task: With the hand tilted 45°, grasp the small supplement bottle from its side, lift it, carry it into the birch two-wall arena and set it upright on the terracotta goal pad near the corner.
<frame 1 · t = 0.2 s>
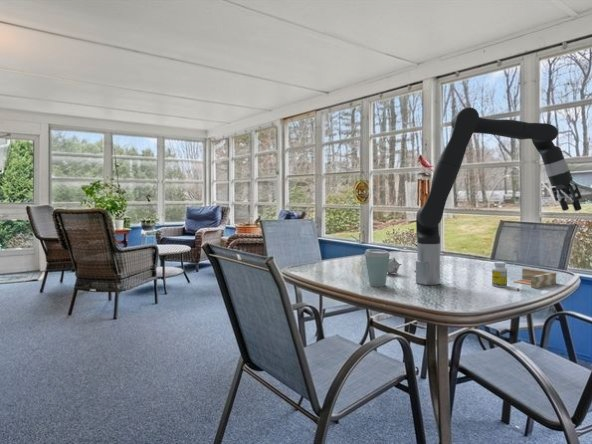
hand: (572, 210, 156), 31 cm above the table, tool tilted 20°, fingers open, 8 cm apart
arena: (528, 282, 164), on the table
supplement bottle: (499, 286, 158), on the table
disposable coffee cup: (377, 285, 162), on the table
grey angular lump: (391, 274, 187), on the table
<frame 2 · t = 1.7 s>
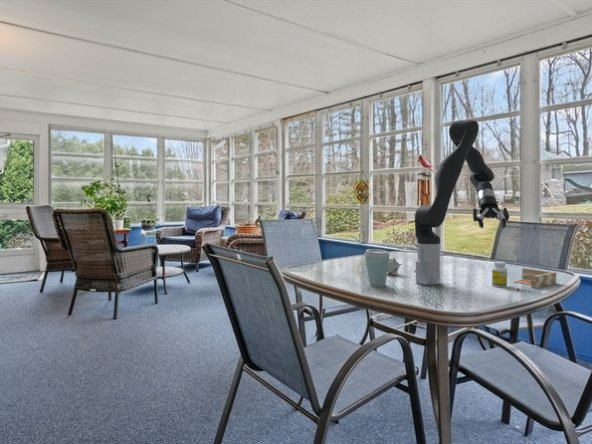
hand: (493, 227, 168), 23 cm above the table, tool tilted 45°, fingers open, 8 cm apart
nothing on the table moved.
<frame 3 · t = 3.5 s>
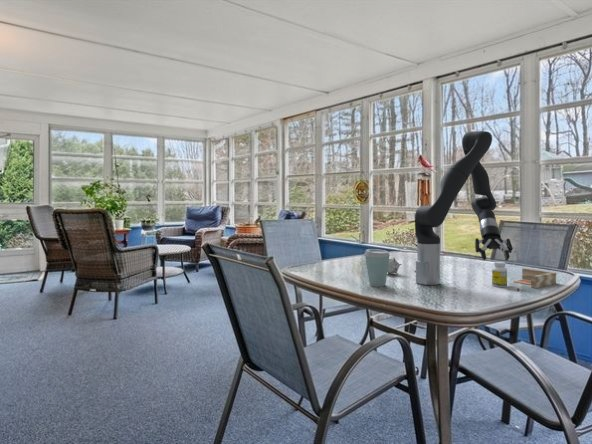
hand: (496, 259, 163), 10 cm above the table, tool tilted 45°, fingers open, 8 cm apart
nothing on the table moved.
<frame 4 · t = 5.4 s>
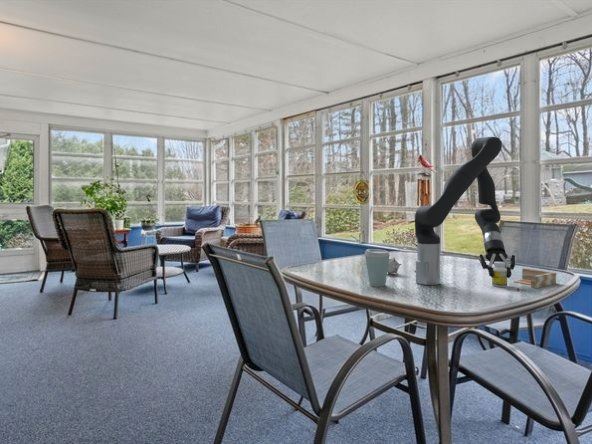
hand: (500, 276, 156), 4 cm above the table, tool tilted 45°, fingers closed on supplement bottle, 5 cm apart
supplement bottle: (499, 286, 158), on the table, touching gripper
everything else where it was.
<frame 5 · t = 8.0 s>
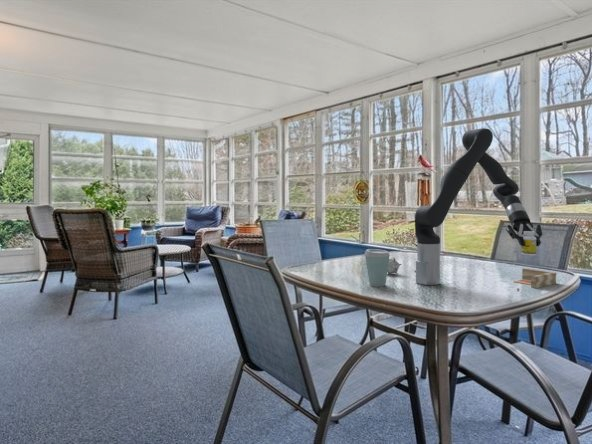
hand: (531, 245, 161), 16 cm above the table, tool tilted 45°, fingers closed on supplement bottle, 5 cm apart
supplement bottle: (528, 255, 163), point 12 cm above the table, touching gripper
everything else where it was.
when the fingers open (6 cm above the table, at t = 10.5 s): supplement bottle drops 1 cm, resting on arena.
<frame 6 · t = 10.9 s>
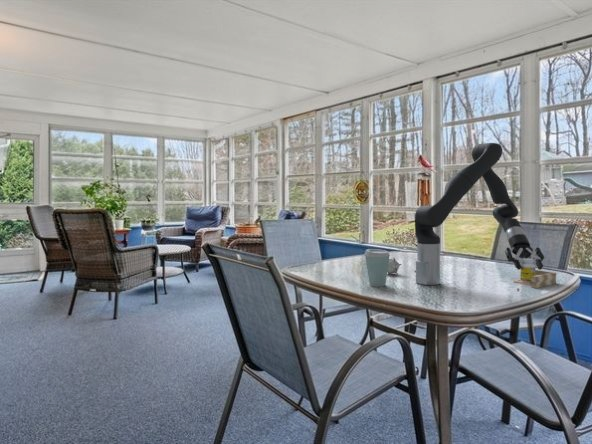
hand: (530, 268, 162), 6 cm above the table, tool tilted 45°, fingers open, 8 cm apart
supplement bottle: (527, 282, 164), resting on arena
everything else where it was.
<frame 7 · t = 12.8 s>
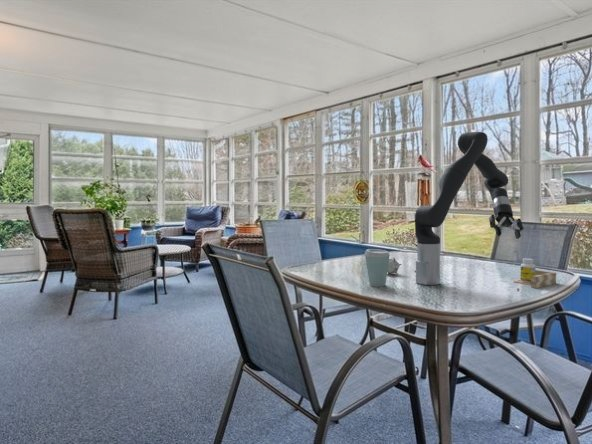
hand: (509, 236, 174), 19 cm above the table, tool tilted 40°, fingers open, 8 cm apart
nothing on the table moved.
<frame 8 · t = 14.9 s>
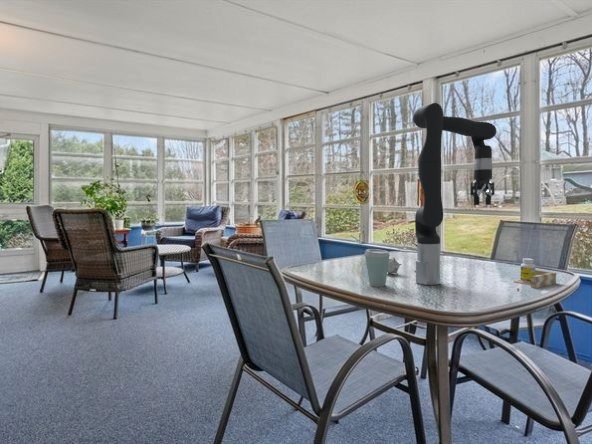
hand: (482, 205, 175), 33 cm above the table, tool pointing down, fingers open, 8 cm apart
nothing on the table moved.
at the end: supplement bottle inside the target area (0.6 cm from its centre), resting on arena; supplement bottle tilted 0°; the gripper is holding nothing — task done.
